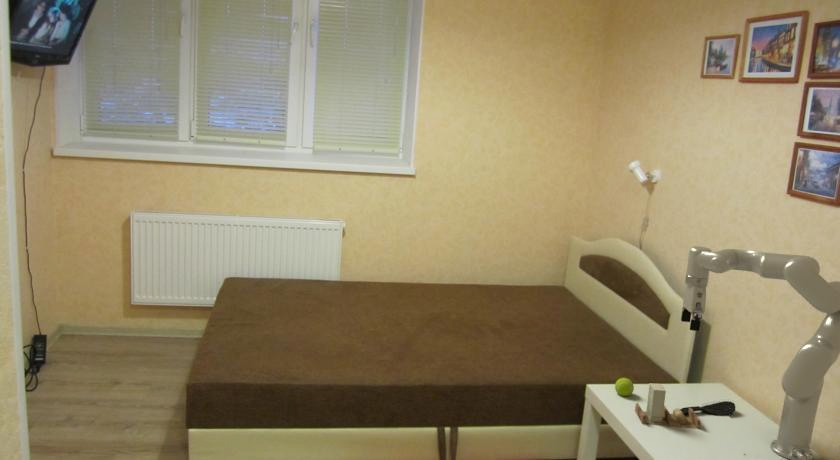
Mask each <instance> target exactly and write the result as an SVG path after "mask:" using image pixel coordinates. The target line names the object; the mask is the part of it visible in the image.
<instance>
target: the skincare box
mask: <svg viewBox="0 0 840 460" xmlns="http://www.w3.org/2000/svg"><path fill="white" fill-rule="evenodd" d="M666 392H667V390H666V389H665V387H664V386H663V384H662V383H653V382H652V383H651V382H649V385H648V393H647V394H648V395H647V403H646V411H645V412H646V415H647V417H648V418H649V420H650V421H653V422H662V419H663V410H664V406H665V401H666Z"/></svg>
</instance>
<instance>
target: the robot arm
mask: <svg viewBox="0 0 840 460" xmlns="http://www.w3.org/2000/svg"><path fill="white" fill-rule="evenodd" d="M731 270H734V271H743V272H744V271H746V272H752V273H756V274H757V275H758V276H760V277H762V278H765V279H770V280H771V279H773V280H783V281H786V282H787V283H788V284H789V285H790V286H791V287H792V288H793V290H794V291H796V292H797V294H799V295H800V296H801V297H802V298H803V299H805V300H806V302H808V304H809V305H811V306H812V308H814V309H815V310H817V311H819V312H821V313H823V314H826V315H825V317H824V318H823V320H822V321H821V323H820V324H819V326H818V328H817V329H816V332H815V333H814V334H813V335H812V337H810V339H809V340H807V341H806V342H804V344H802V345H801V347H799V349H798V350H797V352H796V353H795V356H794V357H793V359H792V360H791V362H790V363H789V366H788V367H787V368H786V370H785V371H784V373H783V375H782V377H781V387H782V390H783V392H784V393H785V395H784V401H783V405H782V410H781V418H780V421H779V428H778V433H777V438H776V439H775V440H772V441H771V442H770V448H771V449H772V451H773V452H774V453H776V454H777V455H779V456H780V457H782V458H785V459H788V460H813V459H814V456H815V455H814V452H813V451H812V450H811V447H810V446H811V441H812V436H813V432H814V425H815V421H816V415H817V411H818V407H819V402H820V398H821V394H822V391H823V387H824V383H825V381H824V380H825V375H827V373H828V371H829V370H830V369H831V367H832V366H833V365H834V364H835V363H836V362H837V360H838V358H839V356H840V281H837V280H836V281H830V282H828V281H827V280H826V279H825V278H823V276H822V275H820V271H821V267H820V264H819V262H818V260H816V259H815V258H814V257H811V256H807V255H798V254H783V253H775V252H774V253H773V252H763V251H756V250H750V249H749V250H748V249H739V248H738V249H736V248H725V249H721V250H718V251H712V249H711V248H709V247H706V246H700V245H697V246H695V245H694V246H692V247H690V249H689V251H688V259H687V266H686V271H685V278H684V285H685V288H684V293H683V298H682V305H683V306H682V309H681V310H682V312H681V318H680V321H681V322H682V323H683V322H684V323H690V324H689V325H690V326H689V330H690V331H692V332H693V331H695V332H699V331H700V327H701V322H702V318H703V315H704V314H705V311H706V301H707V287H708V283H709V276H710V272H712V273H716V274H724V273H726V272H729V271H731ZM691 318H692V319H691Z"/></svg>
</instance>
